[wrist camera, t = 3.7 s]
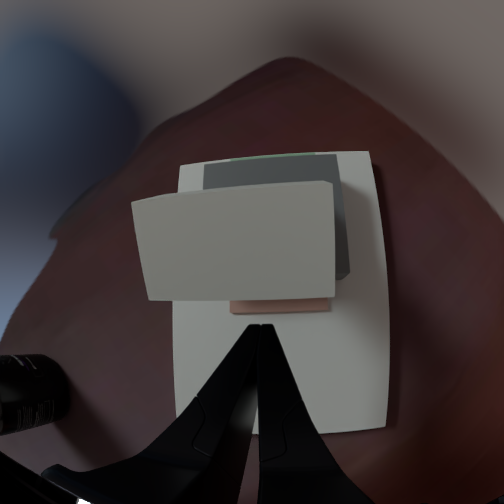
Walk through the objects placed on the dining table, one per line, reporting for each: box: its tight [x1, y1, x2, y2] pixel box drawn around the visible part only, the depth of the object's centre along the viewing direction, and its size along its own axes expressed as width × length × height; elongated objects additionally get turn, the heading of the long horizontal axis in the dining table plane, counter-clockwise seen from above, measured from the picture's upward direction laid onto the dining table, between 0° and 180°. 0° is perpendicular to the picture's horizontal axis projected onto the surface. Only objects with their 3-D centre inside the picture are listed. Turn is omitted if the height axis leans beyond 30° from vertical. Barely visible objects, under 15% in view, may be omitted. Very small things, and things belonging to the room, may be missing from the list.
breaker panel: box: [173, 151, 390, 434], centre depth 17 cm, size 19×14×4 cm
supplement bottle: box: [0, 354, 69, 436], centre depth 15 cm, size 7×7×12 cm
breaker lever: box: [131, 181, 335, 301], centre depth 10 cm, size 2×4×10 cm, turn 91°
